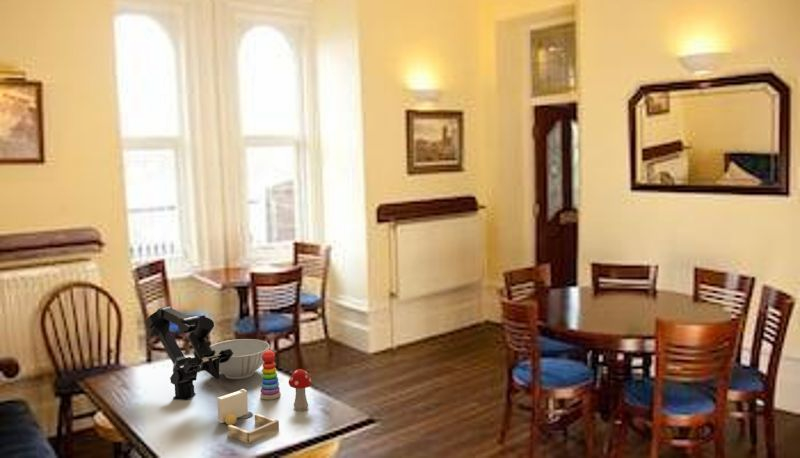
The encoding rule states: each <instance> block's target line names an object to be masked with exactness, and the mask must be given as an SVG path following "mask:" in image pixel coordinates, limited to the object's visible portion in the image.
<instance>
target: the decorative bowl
mask: <svg viewBox="0 0 800 458" xmlns="http://www.w3.org/2000/svg"><path fill="white" fill-rule="evenodd" d="M210 347H211V349H212V351H213V350H215V352H216V353H215V354H214V355H218V354H219V353H220V351H221V350H224V349H228V348H229V349H231V350H232V352H233V355H232V356H231V358H230V359H229V360H228V361H227V362H224V363H219V373H221V374H223V375H224V376H225V378H227V379H230V380H241V379H247V378H250V377H252V376H254V373H255V372H256V371H257V370H259V369H260V368H261V367H263V363H265V362H264V361H263V359H262V355H263V353H264V352H265V351H268V350H270V347H271V346H270V343H268V342H267V341H264V340H261V339H255V338H254V339H252V338H242V339H241V338H238V339H231V340H224V341H221V342H217V343H214V344H212V345H210Z"/></svg>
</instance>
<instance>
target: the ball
mask: <svg viewBox="0 0 800 458" xmlns="http://www.w3.org/2000/svg"><path fill="white" fill-rule="evenodd" d="M237 419H238V418H236V416H235V415H234V414H228V415H227V416H226V418H225V422H224V423H226V425H227V426H228V425H233V426H234V425H235V424H236V423H237Z"/></svg>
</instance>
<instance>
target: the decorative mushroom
mask: <svg viewBox="0 0 800 458" xmlns="http://www.w3.org/2000/svg"><path fill="white" fill-rule="evenodd" d="M312 383H313V382H312V378H311V377H310V376H309V374H308V372H307V371H306V370H305V369H302V368H298V369H296V370H294V371H293V372H292V374H291V376H290V377H289V379H288V385H289V387H291V388H294V389H295V395H294V396H295V398H294V402H293V407H294V409H295V410H296V411H299V412H304V411H306V410H307V409H308V407H309V403H308V401H307V400H308V399H307V394H306V388H309V387H311V385H312Z"/></svg>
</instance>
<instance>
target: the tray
mask: <svg viewBox="0 0 800 458" xmlns="http://www.w3.org/2000/svg"><path fill="white" fill-rule="evenodd" d="M254 424H255V425H256V426H258V427H257V428H255V429H254V428H253V429H252V430H250V431H249V430H246V429H244V428H240V427H238V426H235V425H234V424H233V425H228V424H227V436H228V437H231V438H233V439H236V440H238V441H241V442H244V443H246V444H251V443H252V444H253V443H255V442H257V441H259V440H261V439H263V438H265V437H268V436H270V435H272V434H274V433H276V432H279V431H280V420H278V419H275V418H271V417H269V416H266V415H263V414H259V413H255V414H254Z"/></svg>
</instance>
